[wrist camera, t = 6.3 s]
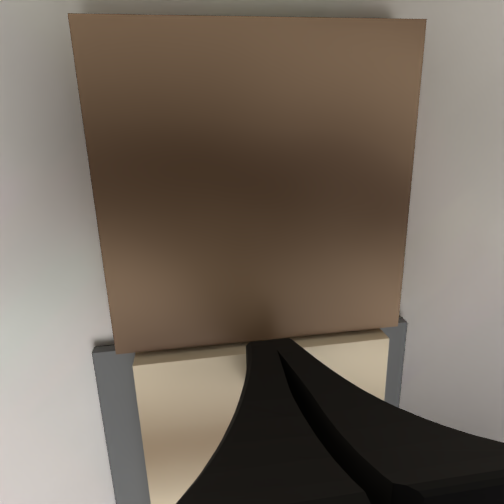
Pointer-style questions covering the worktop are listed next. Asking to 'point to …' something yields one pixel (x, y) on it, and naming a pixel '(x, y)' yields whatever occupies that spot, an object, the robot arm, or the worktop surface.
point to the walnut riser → (248, 172)
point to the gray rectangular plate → (128, 423)
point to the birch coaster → (224, 398)
